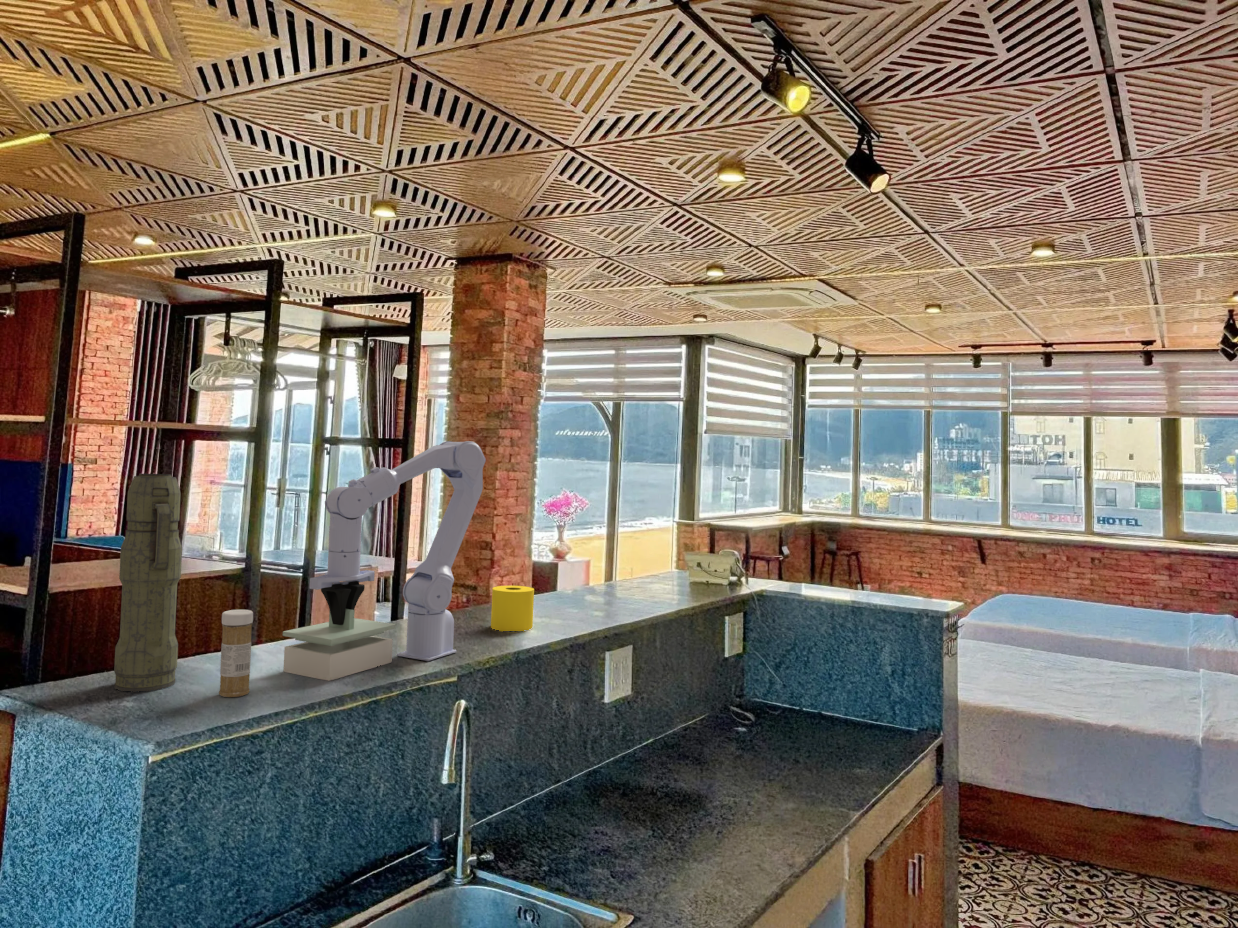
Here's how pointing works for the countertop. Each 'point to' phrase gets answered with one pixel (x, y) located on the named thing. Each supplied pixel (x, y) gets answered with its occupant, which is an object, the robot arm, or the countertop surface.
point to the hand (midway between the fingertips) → (341, 623)
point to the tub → (337, 657)
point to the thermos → (149, 585)
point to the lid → (339, 630)
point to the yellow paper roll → (512, 608)
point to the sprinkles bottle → (235, 653)
